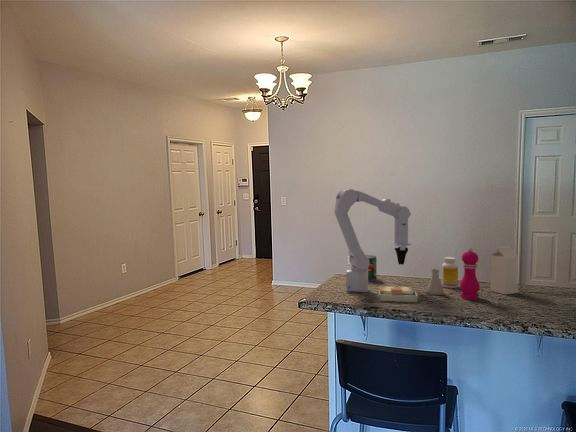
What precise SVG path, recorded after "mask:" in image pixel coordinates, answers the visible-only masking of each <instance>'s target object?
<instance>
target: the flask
mask: <svg viewBox="0 0 576 432" xmlns="http://www.w3.org/2000/svg"><path fill="white" fill-rule="evenodd" d="M439 273H440V269H439V268H431V278H430V281H429V284H428V286H427V288H426V291H425V292H426V294H429V295H433V296H434V295H435V296H439V295H444V294H445V292H444V289H443V288H444V287H443V286H442V282H441V280H440V275H439Z"/></svg>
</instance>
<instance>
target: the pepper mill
mask: <svg viewBox="0 0 576 432" xmlns="http://www.w3.org/2000/svg"><path fill="white" fill-rule="evenodd" d="M461 260H462V262H463V264H462V268H463V270H464V271H463V272H464V273H463V277H462V279H461V280H460V282H459V283H460V284H459V289H460V290H461V292H460V297H461V299H464V300H467V299H468V300H469V301H470V300H471V301H476V300H478V299H479V293H478V292H479V291H480V288H481V287H480V282H479V280H478V277H477V274H476V269H477V267H478V265H477V263H478V262H479V255H478V254H477V253H476V252H475V251H473V248H472V247H469V248H467V251H465V252H463V253H462V255H461Z"/></svg>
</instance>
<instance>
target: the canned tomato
mask: <svg viewBox="0 0 576 432" xmlns="http://www.w3.org/2000/svg"><path fill="white" fill-rule="evenodd" d="M365 256H366V257H367V258H368V259H369V261H370V265H369V267H368V282H369V281H370V282H371V281H376V280H378V279H377V278H378V277H377V275H378V274H377V269H378V268H377V265H378V264H377V262H378V261H377V255H372V254H371V255H370V254H369V255H368V254H365Z"/></svg>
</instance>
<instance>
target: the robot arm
mask: <svg viewBox="0 0 576 432" xmlns="http://www.w3.org/2000/svg"><path fill="white" fill-rule="evenodd" d="M360 202H362V203H365V204H368V205H371V206H373V207H374V206H375V207H377V209H378V211H379V212H381V213H383V214H386V215H389V216H391V217H393V218H394V235H393V236H394V237H393V238H394V239H393V240H394V242H393V245H394V246H396V247H394V251H395V253H396V258H397V263H398V265H405V261H406V257H407V253H408V251H409V248H408V247H409V246H411V245H412V243H409V218H410V216H411V214H412V213H411V211H410V209H409V207H407V206H404V205H401V204H400V203H399V202H395V201H391V199H390V198H383V199H378V198H377V197H374V196H372V195H369V194H367V193H365V192H363V191H360V190H356V189H352V188H350V189H347V188H343V189H340V190H339V191H338V194H337V195H336V196H335V205H334V216H335V218H336V221H337V224H338V226H339V227H340V230H341V233H342V236H343V238H344V241H345V243H346V246H347V248H348V255H349V256H348V257H349V264H350V265H351V267H350V269H349V268H348V269H346V272H345V273H346V274H345V277H346V280H345V281H346V282H345V287H346V288H345V290H346V292H357V293H358V292H359V293H360V292H361V293H363V292H364V293H369V292H370V286H369V281H368V267H369V265H370V261H369V259H368V258H367V257H366V256H365V255H366V254H365V252H364V251H363V248H362V247H361V246H360V242H359V240H358V237H357V235H356V232H355V230H354V227H353V225H352V221H351V219H350V217H349V215H348V214H349V211H350V209H351V207H352V206H353V205H355V203H360Z"/></svg>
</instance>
